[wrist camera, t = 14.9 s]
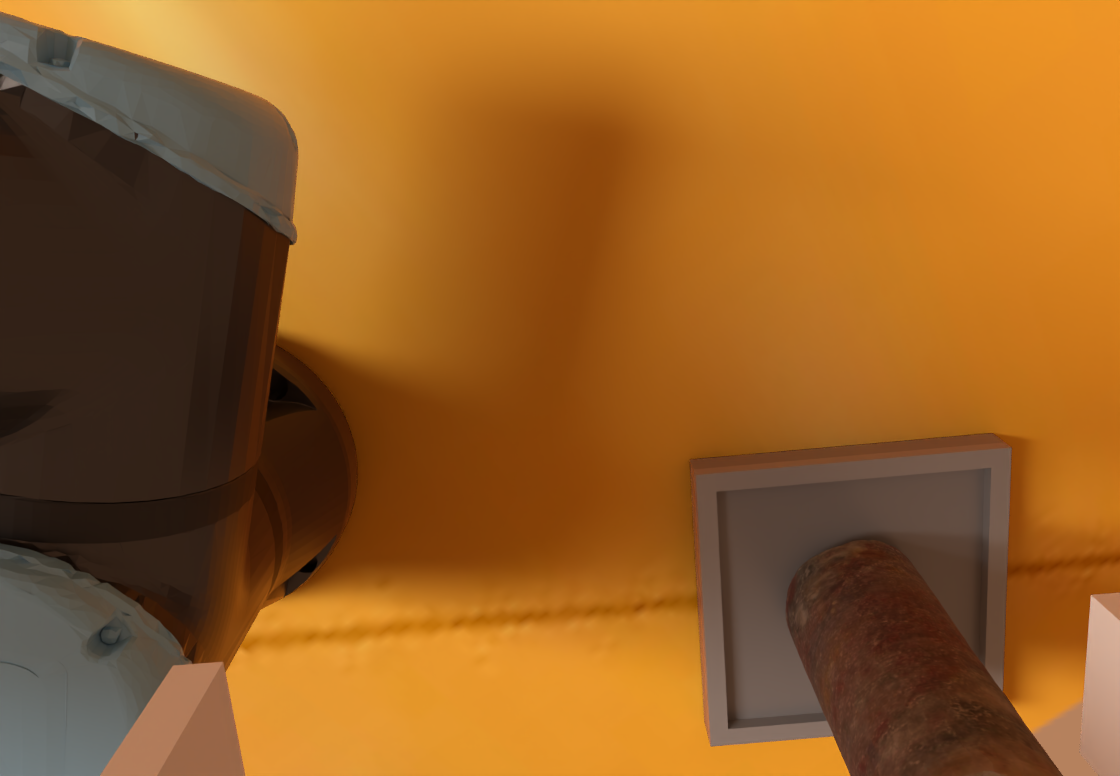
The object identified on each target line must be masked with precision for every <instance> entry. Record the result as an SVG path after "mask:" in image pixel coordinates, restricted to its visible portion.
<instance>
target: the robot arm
mask: <svg viewBox="0 0 1120 776" xmlns="http://www.w3.org/2000/svg"><path fill="white" fill-rule="evenodd" d="M297 166H298V146H297V139H296V136H295V133H294V131H293V130H292V128H291V126H290V124H289V122H288V121H287V119H286V117H285V116H284V115H283V114H282V112H280V111H279V110H278V109H277V108H276V107H275V106H274V105H272V104H271V103H270V102H268V101H267V100H265V99H263V98H261V97H259V96H256V95H254V94H252V93H249V92H246V91H244V90H241V89H239V88H236V87H233V86H230V85H228V84H225V83H222V82H219V81H216V80H213V79H210V78H207V77H204V76H202V75H199V74H196V73H193V72H190V71H187V70H184V69H181V68H178V67H175V66H172V65H169V64H165V63H162V62H159V61H156V60H153V59H150V58H147V57H143V56H140V55H137V54H134V53H131V52H128V51H125V50H122V49H119V48H115V47H112V46H109V45H105V44H102V43H99V42H96V41H92V40H89V39H86V38H82V37H78V36H72V35H69V34H66V33H64V32H63V31H60V30H56V29H53V28H49V27H46V26H43V25H39V24H36V23H33V22H29V21H27V20H24V19H22V18H19V17H16V16H13V15H10V14H6V13H3V12H0V776H245V772H244V767H243V761H242V756H241V751H240V746H239V741H238V736H237V730H236V725H235V720H234V715H233V710H232V705H231V699H230V694H229V689H228V684H227V679H226V673H225V672H226V670H227V669H228V667H229V665H230V663H231V661H232V660H233V658H234V656H235V654H236V652H237V651H238V649H239V647H240V645H241V643H242V642H243V640H244V638H245V636H246V634H247V633H248V631H249V629H250V627H251V625H252V624H253V622H254V620H255V618H256V617H257V615H258V613H259V611H260V610H261V609H263V608H265V607H266V606H268V605H270V604H272V603H274V602H276V601H278V600H280V599H282V598H284V597H285V596H287V595H289V594H290V593H292V592H293V591H295V590H296V589H298V588H299V587H300V586H302V585H303V584H304V583H305V582H306V581H308V580H309V579H310V578H311V577H312V576H313V575H314V574H315V573H316V572H317V571H318V570H319V569H320V567H321V566H322V565H323V564H324V563H325V561H326V560H327V559H328V557H329V556H330V554H331V553H332V551H333V550H334V548H335V546H336V545H337V543H338V540H339V538H340V536H341V534H342V532H343V530H344V528H345V526H346V524H347V522H348V519H349V517H350V514H351V511H352V508H353V505H354V501H355V496H356V489H357V476H358V471H357V457H356V451H355V446H354V442H353V438H352V434H351V431H350V429H349V426H348V423H347V421H346V419H345V417H344V414H343V412H342V411H341V409H340V407H339V405H338V403H337V402H336V400H335V399H334V397H333V396H332V394H331V393H330V391H329V390H328V389H327V387H326V386H325V385H324V384H323V383H322V382H321V380H320V379H319V378H318V377H317V376H316V375H315V374H314V373H313V372H312V371H311V370H310V369H309V368H308V367H306V366H305V365H304V364H303V363H302V362H300V361H299V360H298V359H297V358H295V357H294V356H292V355H291V354H289V353H288V352H286V351H285V350H283V349H281V348H280V347H278V346H276V339H277V332H278V324H279V317H280V310H281V302H282V295H283V288H284V280H285V273H286V266H287V259H288V251H289V245H294V244H295V243H296V239H297V231H296V227H295V225H294V224H293V222H292V221H293V210H294V199H295V188H296V177H297ZM1080 754H1081V755H1082V756H1083V757H1084V759H1085V760H1086V761H1087V762H1088V763H1089V765H1090V766H1091V767H1092V768H1093V769H1094V771H1095V772H1096V773H1097V774H1098V776H1120V593H1107V594H1094V595H1091V600H1090V614H1089V628H1088V642H1087V655H1086V669H1085V683H1084V697H1083V711H1082V725H1081V739H1080Z"/></svg>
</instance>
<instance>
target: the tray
mask: <svg viewBox="0 0 1120 776" xmlns="http://www.w3.org/2000/svg"><path fill="white" fill-rule="evenodd" d="M1011 453H1012V447H1010V446H1009V445H1008V444H1006V443H1005V442H1004V441H1002V440H1001V439H1000V438H998V437H997V436H996V435H994V434H993V433H988V434H976V435H965V436H953V437H942V438H931V439H919V440H908V441H896V442H885V443H873V444H862V445H850V446H839V447H828V448H816V449H805V450H793V451H782V452H770V453H759V454H747V455H736V456H725V457H713V458H702V459H690V475H691V493H692V511H693V528H694V546H695V563H696V581H697V599H698V616H699V634H700V651H701V669H702V687H703V704H704V722H705V726H706V730H707V734H708V738H709V742H710V746H722V745H734V744H746V743H758V742H770V741H782V740H794V739H806V738H818V737H830V736H833V733H832V731H831V728H830V726H829V724H828V722H827V720H826V717H825V715H824V713H823V711H822V708H821V706H820V704H819V701H818V699H817V696H816V694H815V692H814V689H813V687H812V684H811V682H810V680H809V678H808V676H807V674H806V671H805V669H804V666H803V663H802V661H801V659H800V657H799V654H798V651H797V649H796V647H795V644H794V642H793V639H792V637H791V634H790V631H789V629H788V626H787V622H786V614H785V609H786V599H787V592H788V588H789V585H790V583H791V581H792V579H793V577H794V576H795V574H796V572H797V570H798V569H799V568H800V567H801V566H802V565H803V564H804V563H805V562H806V561H808V560H809V559H810V558H812V557H814V556H816V555H818V554H820V553H821V552H823V551H826V550H828V549H831V548H834V547H837V546H841V545H844V544H846V543H848V542H852V541H856V540H868V541H869V540H877V541H881V542H883V543H885V544H887V545H890V546H893V547H896V548H897V549H898V550H900V551H901V552H902V553H903V554H904V555H905V556H906V557H907V558H908V559H909V560H910V562H911V563H912V564H913V566H914V567H915V568H916V570H917V571H918V572H919V574H920V575H921V576H922V578H923V579H924V581H925V582H926V583H927V585H928V586H929V588H930V589H931V590H932V592H933V593H934V594H935V596H936V597H937V599H938V600H939V602H940V603H941V605H942V606H943V608H944V609H945V611H946V612H947V614H948V615H949V617H950V618H951V620H952V621H953V622H954V624H955V625H956V627H957V628H958V630H959V631H960V633H961V634H962V636H963V637H964V638H965V640H966V641H967V643H968V645H969V646H970V648H971V649H972V651H973V652H974V653H975V654H976V656H977V657H978V658H979V660H980V661H981V662H982V664H983V665H984V667H985V668H986V669H987V671H988V672H989V674H990V675H991V676H992V678H993V680H994V681H995V683H996V684H997V685H998V686H999V688H1000V689H1001V690H1002V691H1003V674H1004V646H1005V619H1006V591H1007V564H1008V536H1009V508H1010V481H1011Z"/></svg>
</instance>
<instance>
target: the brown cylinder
mask: <svg viewBox="0 0 1120 776" xmlns="http://www.w3.org/2000/svg"><path fill="white" fill-rule="evenodd" d="M785 614H786V622H787V626H788V629H789V631H790V634H791V637H792V639H793V642H794V644H795V647H796V649H797V651H798V654H799V657H800V659H801V661H802V663H803V666H804V669H805V671H806V674H807V676H808V678H809V680H810V682H811V684H812V687H813V689H814V692H815V694H816V696H817V699H818V701H819V704H820V706H821V708H822V711H823V713H824V715H825V717H826V720H827V722H828V724H829V726H830V728H831V731H832V733H833V736H834V738H835V741H836V743H837V745H838V747H839V750H840V752H841V754H842V757H843V759H844V761H845V764H846V766H847V768H848V770H849V773H850V775H851V776H1063V775H1062V774H1061V773H1060V771H1059V770H1058V768H1057V767H1056V766H1055V764H1054V763H1053V762H1052V760H1051V759H1050V758H1049V756H1048V755H1047V753H1046V752H1045V750H1044V749H1043V748H1042V746H1041V745H1040V744H1039V742H1038V741H1037V739H1036V738H1035V737H1034V735H1033V734H1032V733H1031V731H1030V730H1029V729H1028V727H1027V726H1026V725H1025V723H1024V722H1023V720H1022V719H1021V717H1020V716H1019V714H1018V713H1017V711H1016V710H1015V708H1014V707H1013V705H1012V704H1011V702H1010V701H1009V700H1008V698H1007V697H1006V695H1005V694H1004V693H1003V691H1002V690H1001V689H1000V688H999V686H998V685H997V684H996V683H995V681H994V680H993V678H992V676H991V675H990V674H989V672H988V671H987V669H986V668H985V667H984V665H983V664H982V662H981V661H980V660H979V658H978V657H977V656H976V654H975V653H974V652H973V651H972V649H971V648H970V646H969V645H968V643H967V641H966V640H965V638H964V637H963V636H962V634H961V633H960V631H959V630H958V628H957V627H956V625H955V624H954V622H953V621H952V620H951V618H950V617H949V615H948V614H947V612H946V611H945V609H944V608H943V606H942V605H941V603H940V602H939V600H938V599H937V597H936V596H935V594H934V593H933V592H932V590H931V589H930V588H929V586H928V585H927V583H926V582H925V581H924V579H923V578H922V576H921V575H920V574H919V572H918V571H917V570H916V568H915V567H914V566H913V564H912V563H911V562H910V560H909V559H908V558H907V557H906V556H905V555H904V554H903V553H902V552H901V551H900V550H898V549H897V548H896V547H893V546H890V545H887V544H885V543H883V542H881V541H877V540H869V541H868V540H856V541H852V542H848V543H846V544H844V545H841V546H837V547H834V548H831V549H828V550H826V551H823V552H821V553H820V554H818V555H816V556H814V557H812V558H810V559H809V560H808V561H806V562H805V563H804V564H803V565H802V566H801V567H800V568H799V569H798V570H797V572H796V574H795V576H794V577H793V579H792V581H791V583H790V585H789V588H788V592H787V599H786V609H785Z"/></svg>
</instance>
